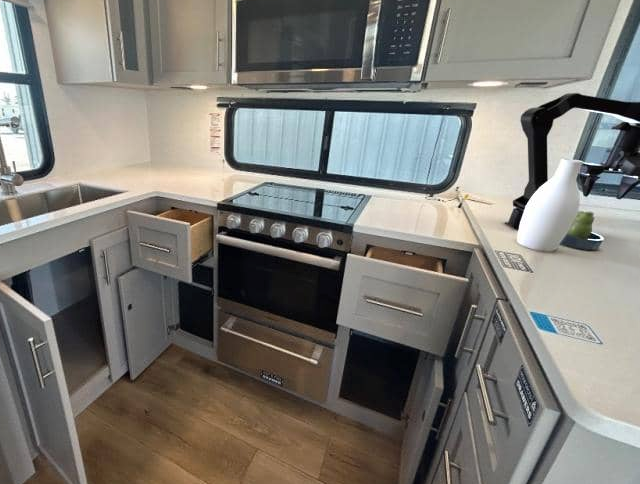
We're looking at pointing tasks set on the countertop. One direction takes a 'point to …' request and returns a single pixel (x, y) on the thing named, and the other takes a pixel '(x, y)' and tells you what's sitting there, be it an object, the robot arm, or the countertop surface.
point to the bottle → (551, 209)
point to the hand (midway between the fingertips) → (601, 197)
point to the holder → (583, 242)
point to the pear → (582, 225)
